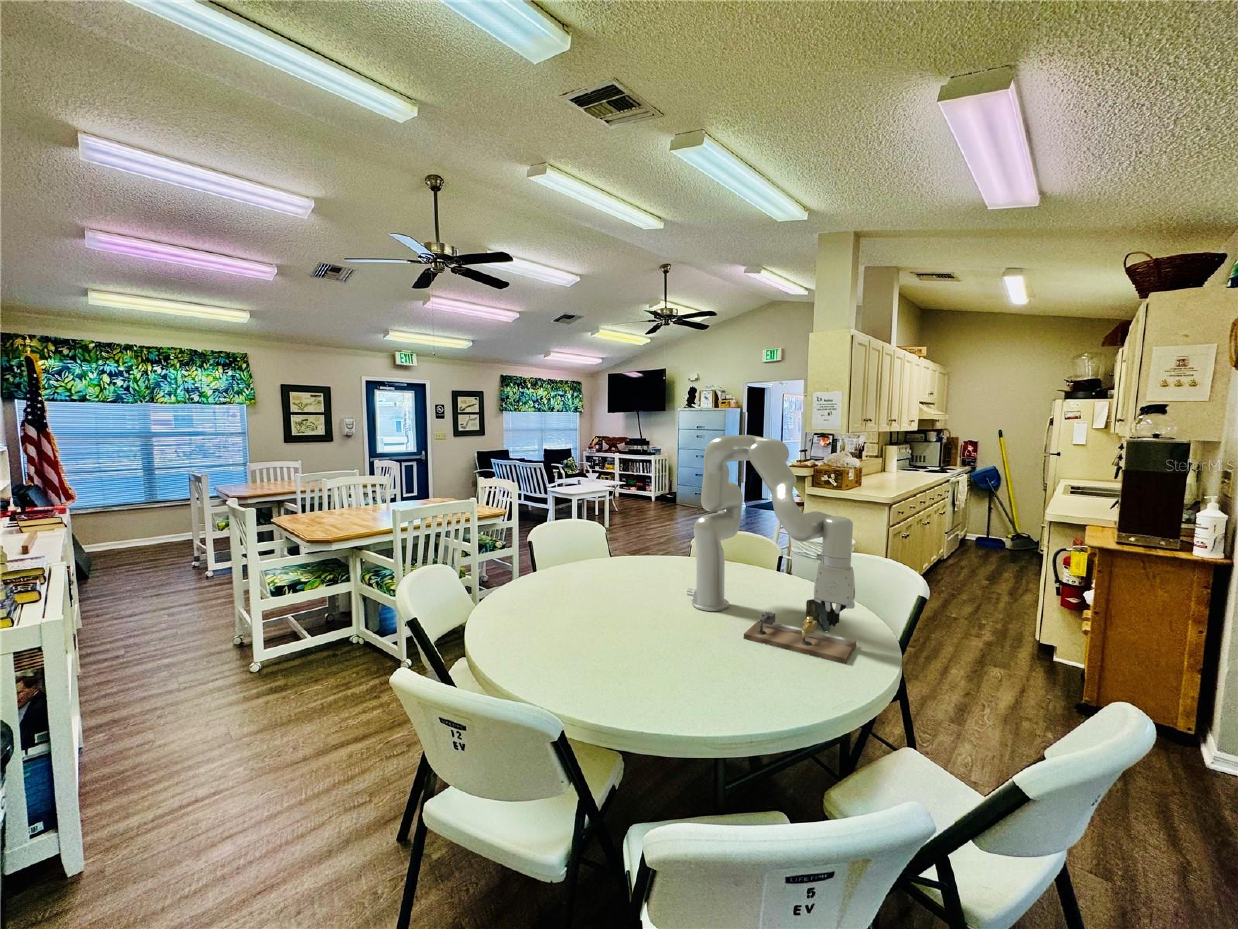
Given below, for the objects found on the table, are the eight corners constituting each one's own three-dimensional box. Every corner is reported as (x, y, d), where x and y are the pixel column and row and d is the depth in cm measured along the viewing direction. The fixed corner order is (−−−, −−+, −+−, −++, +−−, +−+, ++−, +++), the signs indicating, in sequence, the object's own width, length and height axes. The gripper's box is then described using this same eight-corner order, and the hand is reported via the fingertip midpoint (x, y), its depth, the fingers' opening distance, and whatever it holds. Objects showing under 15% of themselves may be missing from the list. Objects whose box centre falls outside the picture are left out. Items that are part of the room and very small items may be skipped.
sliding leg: (797, 639, 145) (797, 623, 144) (805, 630, 151) (806, 614, 151) (808, 642, 143) (808, 626, 142) (816, 632, 149) (816, 617, 149)
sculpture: (837, 632, 154) (838, 610, 154) (815, 631, 155) (816, 609, 154) (825, 616, 167) (825, 595, 167) (804, 615, 168) (805, 595, 168)
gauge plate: (743, 638, 151) (743, 621, 150) (759, 624, 161) (759, 607, 161) (845, 664, 134) (846, 644, 134) (856, 646, 145) (856, 628, 145)
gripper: (804, 559, 144) (801, 622, 146) (862, 569, 136) (858, 636, 138) (812, 553, 150) (809, 614, 152) (868, 562, 142) (864, 626, 144)
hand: (832, 624), depth 145 cm, fingers closed
